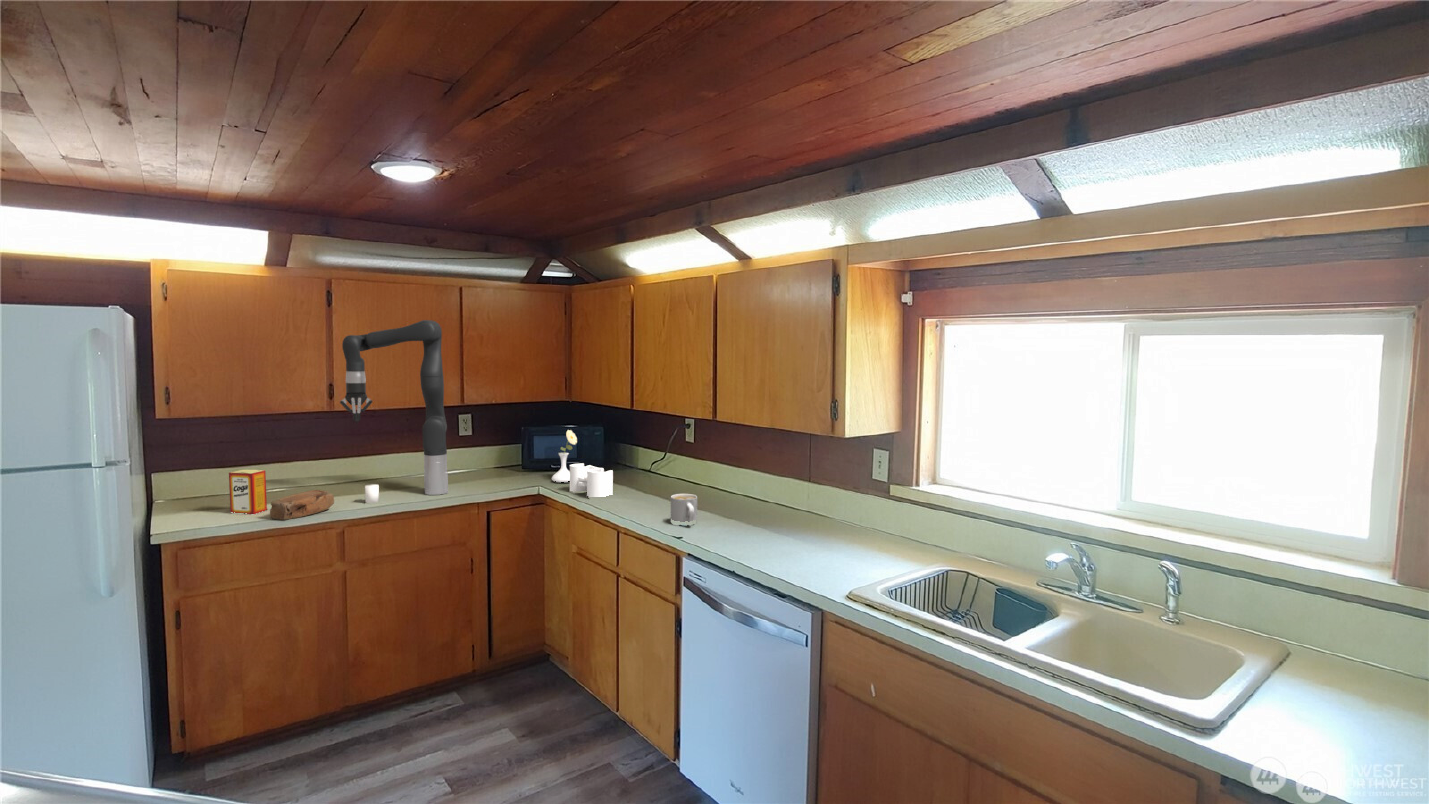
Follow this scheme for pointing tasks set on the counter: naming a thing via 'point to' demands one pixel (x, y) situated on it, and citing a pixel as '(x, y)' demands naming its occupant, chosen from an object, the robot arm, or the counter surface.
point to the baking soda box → (247, 491)
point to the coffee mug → (683, 507)
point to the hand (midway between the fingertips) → (356, 421)
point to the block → (301, 504)
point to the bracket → (591, 480)
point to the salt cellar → (372, 493)
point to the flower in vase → (563, 473)
